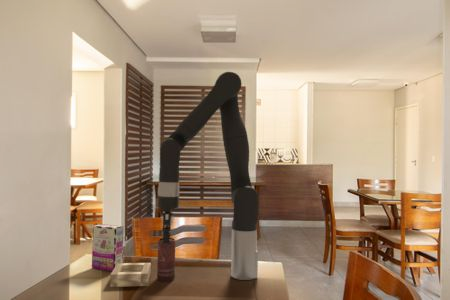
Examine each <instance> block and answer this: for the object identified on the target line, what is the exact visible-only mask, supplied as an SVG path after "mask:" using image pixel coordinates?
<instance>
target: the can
mask: <svg viewBox="0 0 450 300" xmlns="http://www.w3.org/2000/svg"><path fill="white" fill-rule="evenodd" d="M156 273H157V276H156V278H157V280H158V281H159V282H165V283H167V282H168V283H169V282H172V281H173V280H174V279H175V273H176V240H175V238H172V237H170V242H169V243H168V244H164V243H163V237H161V238H160V239H158V242H157V269H156Z"/></svg>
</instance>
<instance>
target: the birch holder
mask: <svg viewBox="0 0 450 300" xmlns="http://www.w3.org/2000/svg"><path fill="white" fill-rule="evenodd" d="M151 263H152V262H126V263H125V262H123V263H117V265H116V267H115V268H114V270H113V271H112V272H110V281H109V287H110V288H113V287H114V288H115V287H117V288H118V287H121V288H122V287H148V285H149V280H150V278H151V274H152V273H151V272H152V271H151V270H152V267H151V266H152V264H151Z"/></svg>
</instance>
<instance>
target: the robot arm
mask: <svg viewBox="0 0 450 300" xmlns="http://www.w3.org/2000/svg"><path fill="white" fill-rule="evenodd" d="M241 88H242V79H241V77H240V76H239V74H238V73H236V72H234V71H226V72H223V73H221V74H220V75H219V76H218V77H217V79H216V81H215V83H214V85H213V86H212V88H211V90H210V91H209V92H208V94H207V95H206V96H205V97H204V98H203V99H202V100H201V101H200V103H198V104H197V106H196V107H195V108H194V109H193V110H191V112H189V113H188V115H187V116H185V118H184V119H183V120H182V121H181V122H179V124H178V126H177V127H176V129H175V130H174V131H173V132H172V133H171V134H170V135H169V136H168V137H167V138H166V139H164V140H163V141H162V142H161V144H160V151H159V153H160V155H159V157H160V161H159V162H160V168H159V175H158V177H159V179H158V180H159V181H158V186H157V187H158V188H157V209H161V210H164V211H163V212H162V214H161V226H162V230H161V231H162V238H163V243H164V244H168V243H169V242H170V238H171V231H172V229H171V228H172V227H173V221H174V220H173V219H174V212H173V210H177V209H178V208H179V206H180V205H179V204H180V160H181V152H182V151H183V150H184V149H185V147H186V146H187V145H188V143H189V142H191V140H193V139H194V138H195V137H196V136H197V134H199V132H200V131H201V130H202V129H203V128H204V127H205V126H206V125H207V123H209V120H210V119H211V118H212V117H213V116H214V114H215V113H216V112H217V111H218V110H219V112H220V124H221V125H220V126H221V132H222V142H223V148H224V154H225V158H226V163H227V167H228V172H229V176H230V177H229V178H230V179H229V180H230V192H231V193H230V194H231V196H230V197H231V201H232V204H233V219H232V221H231V259H230V260H231V263H230V265H231V267H230V268H231V269H230V276H231V278H233V279H236V280H240V281H250V280H254V279H258V273H259V272H258V271H259V270H258V267H259V264H258V263H259V259H258V258H259V256H258V255H259V252H258V250H257V243H258V242H257V241H258V239H257V235H258V223H259V215H260V213H259V212H260V196H259V193H258V191H257V190H256V189H255V188H254V187H253V185H252V181H251V178H250V172H249V171H250V169H249V164H250V163H249V162H250V146H249V145H250V144H249V137H248V131H247V128H246V125H245V123H244V120H243V118H242V116H241V113H240V108H239V92H240V91H241Z"/></svg>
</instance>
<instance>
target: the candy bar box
mask: <svg viewBox="0 0 450 300" xmlns="http://www.w3.org/2000/svg"><path fill="white" fill-rule="evenodd" d="M124 227H125V226H123V225H115V224H103V223H99V224H96V225H93V226H92V246H91V247H92V249H91V250H92V253H91V254H92V256H91V269H95V270H100V271H106V272H110V273H112V271H113V270H114V268H115V267H116V265H117V263H124V262H123V258H124V257H123V256H124V255H123V253H124Z"/></svg>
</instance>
